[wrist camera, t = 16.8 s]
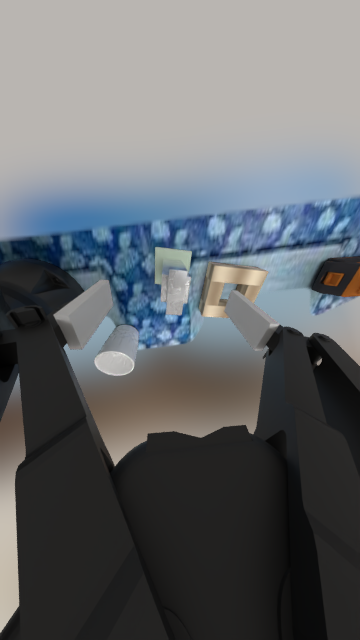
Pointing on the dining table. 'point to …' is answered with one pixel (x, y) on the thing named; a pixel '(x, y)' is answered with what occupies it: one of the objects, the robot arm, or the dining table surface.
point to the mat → (169, 254)
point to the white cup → (118, 351)
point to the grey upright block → (174, 285)
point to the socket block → (228, 273)
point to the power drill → (339, 277)
